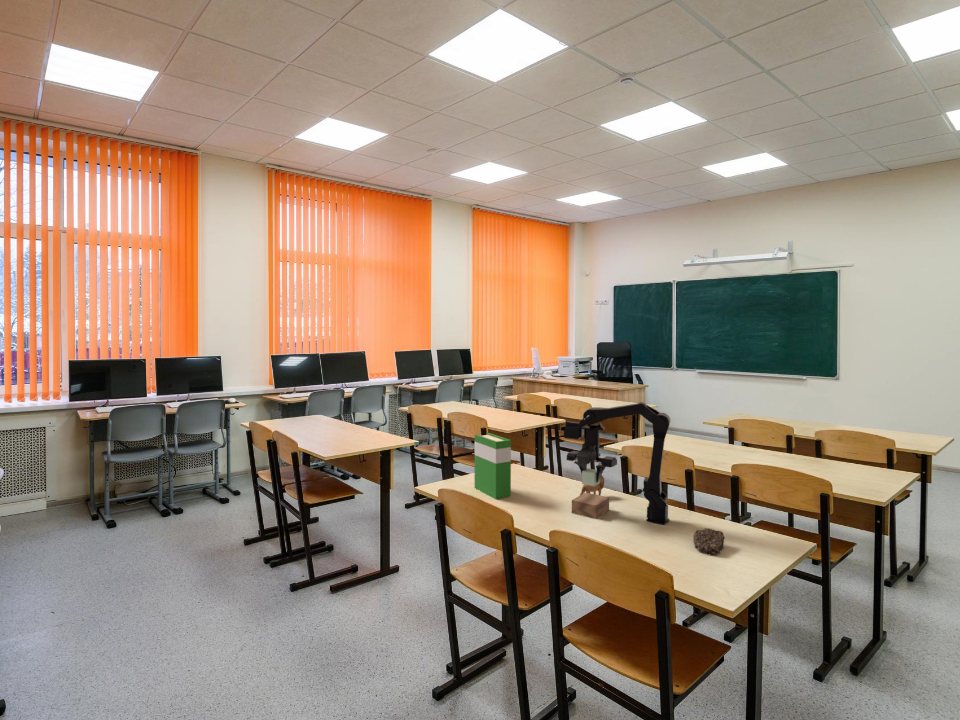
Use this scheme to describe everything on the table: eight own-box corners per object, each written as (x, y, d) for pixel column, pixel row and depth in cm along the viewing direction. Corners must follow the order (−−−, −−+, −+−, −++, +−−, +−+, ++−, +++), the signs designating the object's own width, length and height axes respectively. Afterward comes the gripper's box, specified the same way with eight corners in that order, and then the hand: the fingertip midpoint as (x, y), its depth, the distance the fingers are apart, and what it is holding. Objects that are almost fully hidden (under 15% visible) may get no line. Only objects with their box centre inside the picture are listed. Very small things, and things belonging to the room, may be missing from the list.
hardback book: (474, 488, 231) (474, 434, 229) (488, 485, 235) (488, 433, 233) (495, 499, 216) (495, 442, 214) (510, 496, 219) (510, 440, 218)
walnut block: (609, 509, 203) (609, 497, 203) (595, 518, 193) (596, 505, 193) (585, 504, 209) (585, 492, 209) (571, 512, 200) (571, 500, 199)
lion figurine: (596, 493, 224) (597, 472, 224) (607, 496, 220) (607, 475, 220) (575, 500, 214) (576, 479, 214) (586, 503, 210) (586, 481, 210)
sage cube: (599, 483, 201) (599, 470, 201) (594, 486, 197) (594, 473, 197) (587, 481, 204) (588, 468, 204) (582, 483, 200) (582, 471, 200)
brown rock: (699, 538, 175) (699, 524, 175) (730, 547, 168) (731, 532, 168) (684, 548, 167) (684, 533, 167) (716, 558, 160) (717, 542, 160)
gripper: (559, 441, 199) (559, 481, 200) (605, 447, 188) (605, 490, 188) (573, 436, 208) (572, 475, 209) (618, 442, 196) (617, 483, 197)
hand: (591, 480), depth 201 cm, fingers closed on sage cube, 5 cm apart
